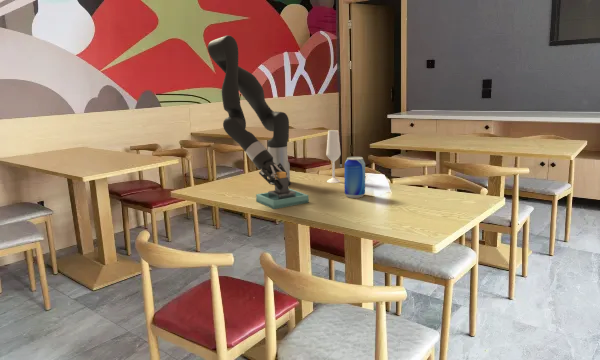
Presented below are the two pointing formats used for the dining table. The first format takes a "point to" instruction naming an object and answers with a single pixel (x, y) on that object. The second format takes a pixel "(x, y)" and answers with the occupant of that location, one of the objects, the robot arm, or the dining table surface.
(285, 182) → the grey square peg
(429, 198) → the dining table surface
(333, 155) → the champagne flute
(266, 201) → the tray
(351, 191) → the beer can
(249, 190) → the dining table surface
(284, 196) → the inlet
